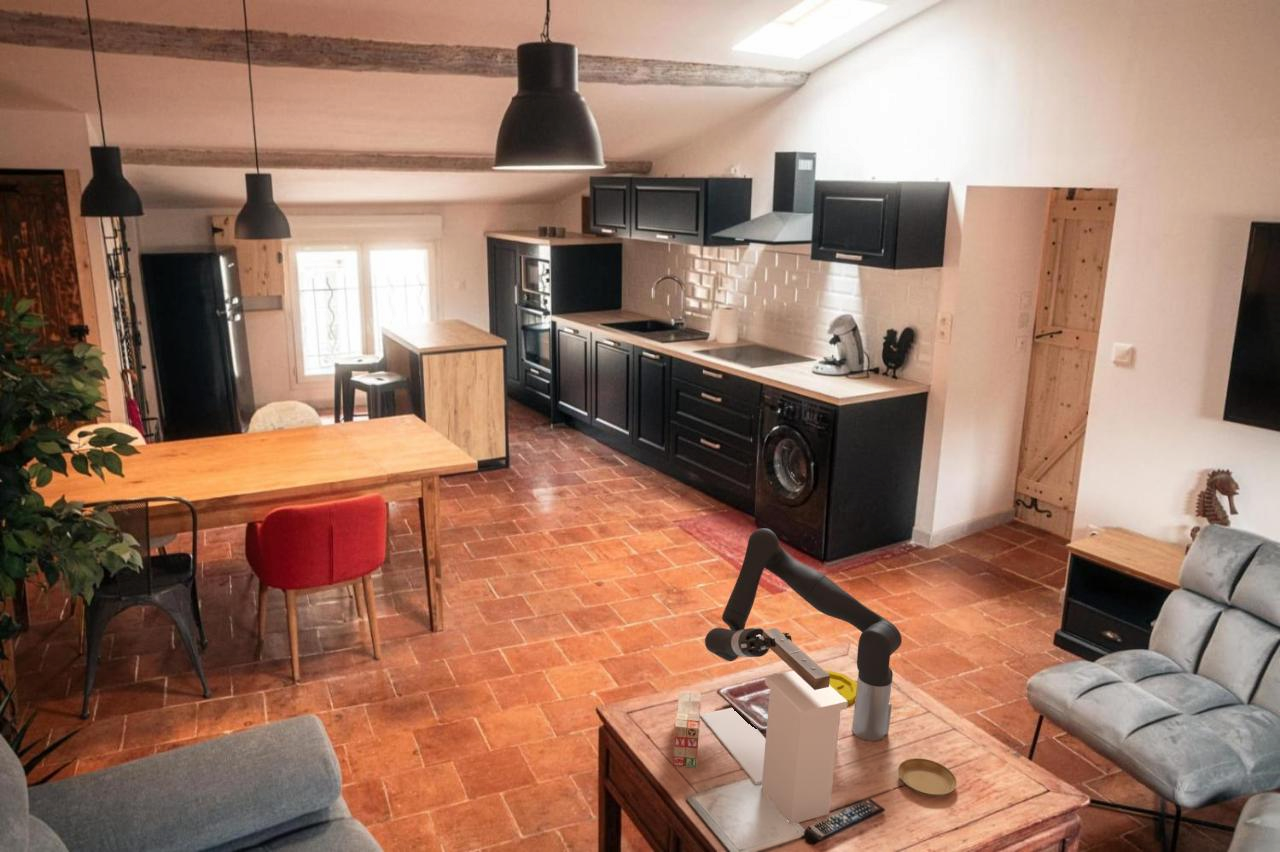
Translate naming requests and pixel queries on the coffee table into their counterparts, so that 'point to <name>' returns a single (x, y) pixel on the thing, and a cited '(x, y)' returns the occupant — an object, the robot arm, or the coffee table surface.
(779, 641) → the studded wooden bar
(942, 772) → the plant saucer
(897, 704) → the coffee table surface
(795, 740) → the tall stand
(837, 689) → the decorative disc
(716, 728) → the white mat
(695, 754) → the stack of blocks
